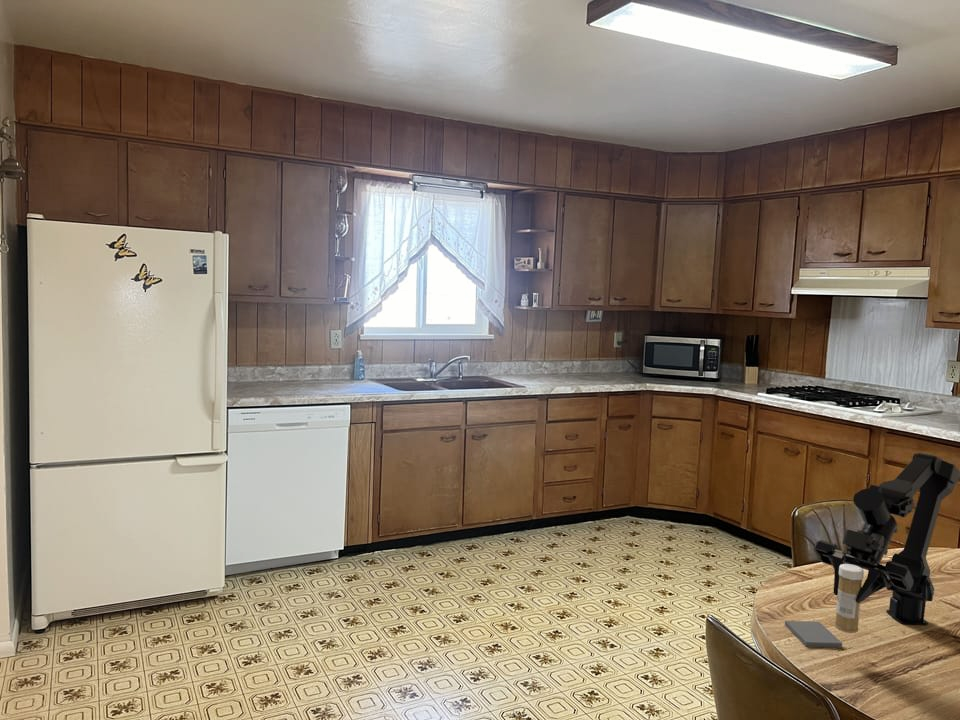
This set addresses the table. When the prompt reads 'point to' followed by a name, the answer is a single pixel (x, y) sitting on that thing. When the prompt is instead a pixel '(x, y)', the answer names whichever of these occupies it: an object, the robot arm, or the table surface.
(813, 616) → the table surface
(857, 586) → the sprinkles bottle
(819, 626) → the slate tile
